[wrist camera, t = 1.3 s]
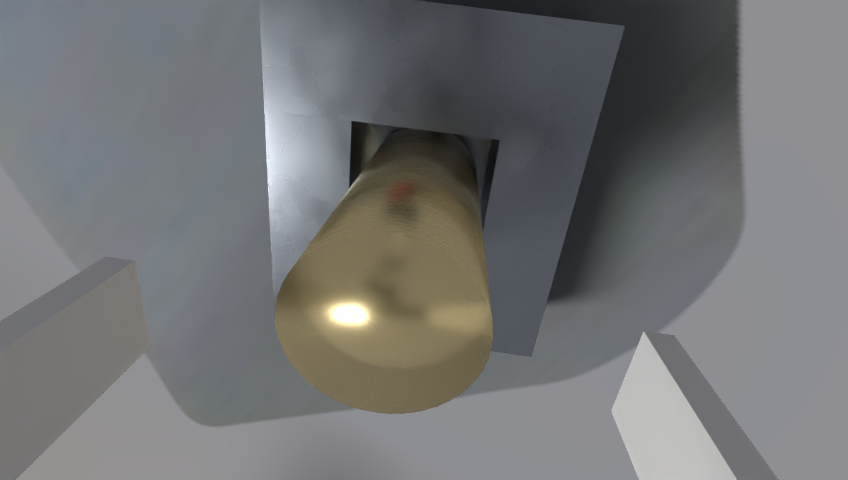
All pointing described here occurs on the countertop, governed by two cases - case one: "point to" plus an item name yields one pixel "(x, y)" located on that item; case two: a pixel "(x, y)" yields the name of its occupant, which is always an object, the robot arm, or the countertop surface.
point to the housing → (436, 123)
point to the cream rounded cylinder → (394, 283)
